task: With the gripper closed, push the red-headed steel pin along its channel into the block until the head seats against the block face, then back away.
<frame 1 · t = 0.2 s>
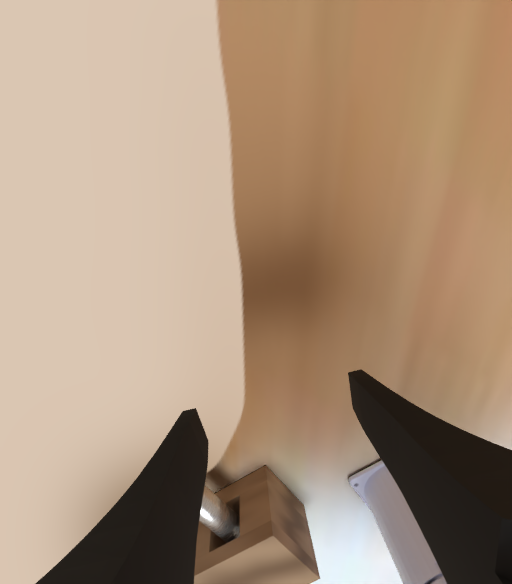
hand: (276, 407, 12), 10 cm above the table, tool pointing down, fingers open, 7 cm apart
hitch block: (247, 506, 28), on the table
pin: (211, 510, 23), point 3 cm above the table, slide at 7.0 cm
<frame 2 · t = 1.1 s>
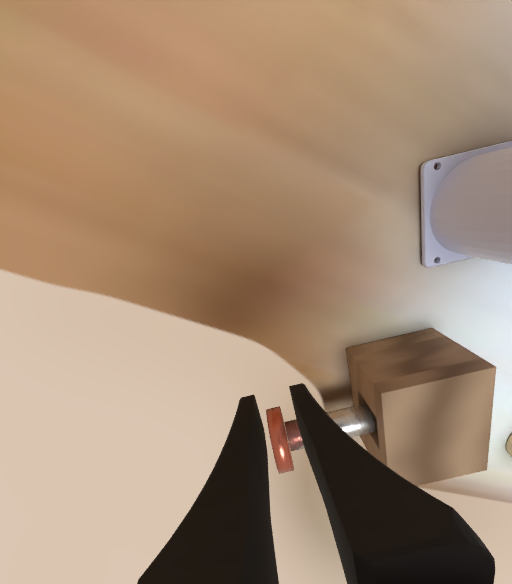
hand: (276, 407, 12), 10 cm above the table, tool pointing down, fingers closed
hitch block: (392, 382, 25), on the table
pin: (343, 423, 22), point 3 cm above the table, slide at 7.0 cm
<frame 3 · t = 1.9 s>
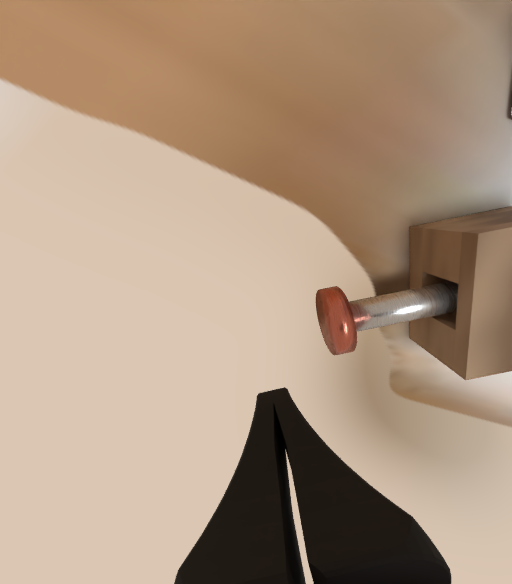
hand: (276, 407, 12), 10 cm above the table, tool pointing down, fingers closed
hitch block: (456, 277, 21), on the table
pin: (408, 305, 18), point 3 cm above the table, slide at 7.0 cm
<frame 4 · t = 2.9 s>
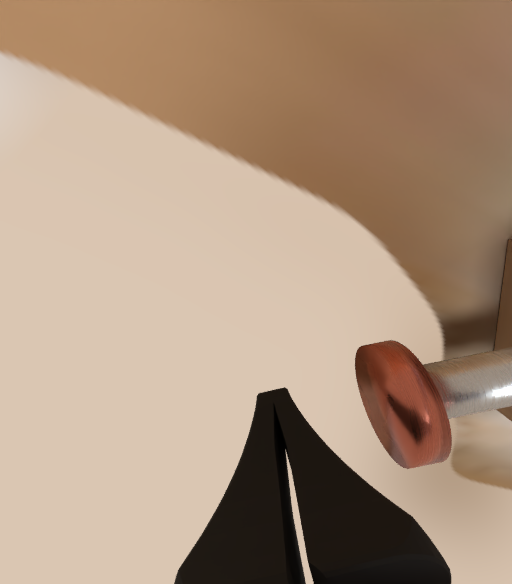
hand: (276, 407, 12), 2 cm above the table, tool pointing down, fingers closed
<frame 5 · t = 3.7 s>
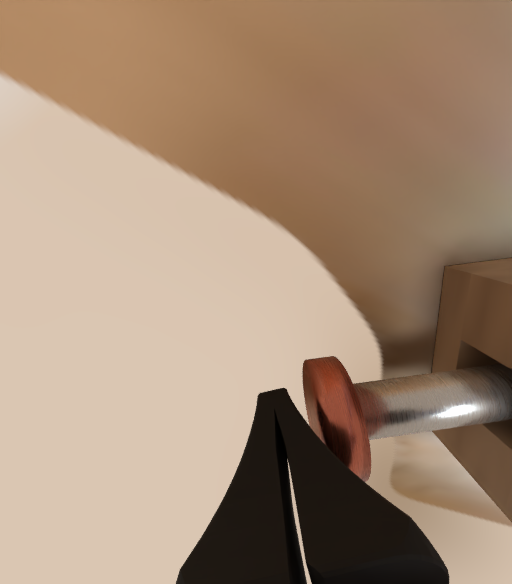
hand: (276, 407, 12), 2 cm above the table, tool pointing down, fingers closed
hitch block: (503, 344, 14), on the table
pin: (454, 397, 11), point 3 cm above the table, slide at 6.3 cm, touching gripper
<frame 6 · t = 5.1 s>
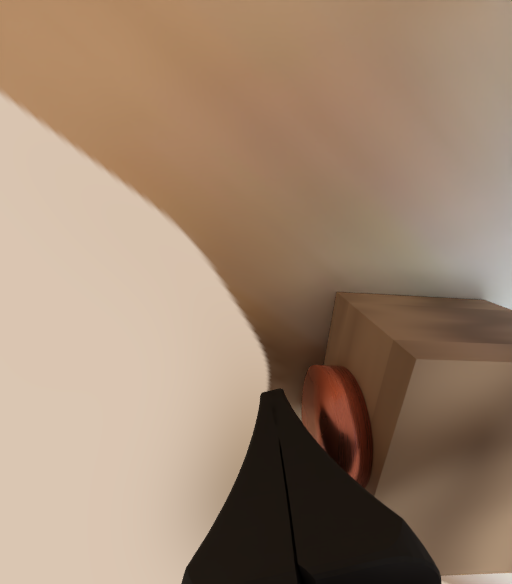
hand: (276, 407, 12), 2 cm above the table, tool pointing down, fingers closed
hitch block: (389, 378, 14), on the table
pin: (448, 423, 12), point 3 cm above the table, slide at -0.1 cm, touching gripper
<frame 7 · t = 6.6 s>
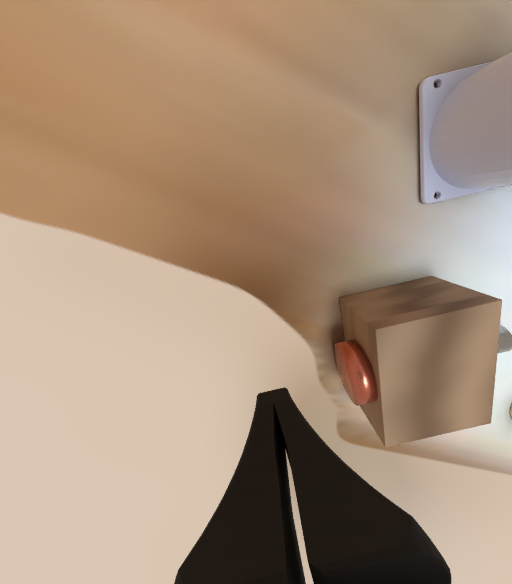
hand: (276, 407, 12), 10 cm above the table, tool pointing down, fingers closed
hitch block: (388, 338, 23), on the table
pin: (422, 355, 20), point 3 cm above the table, slide at 0.0 cm
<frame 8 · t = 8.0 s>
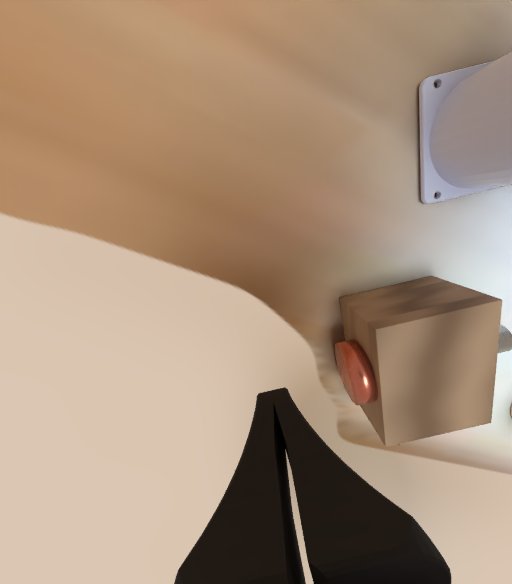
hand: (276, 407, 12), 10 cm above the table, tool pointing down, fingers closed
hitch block: (389, 338, 23), on the table
pin: (422, 355, 20), point 3 cm above the table, slide at 0.0 cm
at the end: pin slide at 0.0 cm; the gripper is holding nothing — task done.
